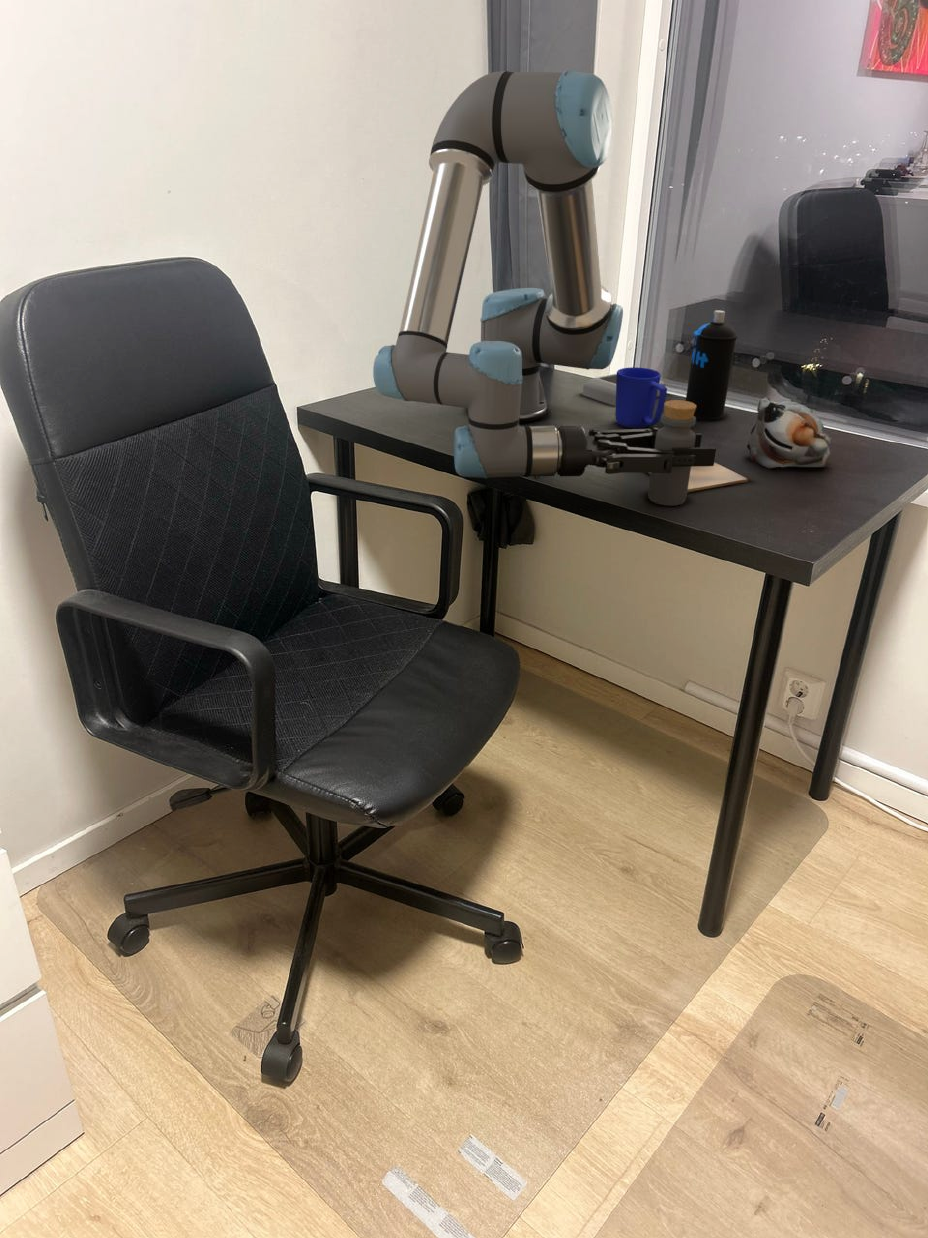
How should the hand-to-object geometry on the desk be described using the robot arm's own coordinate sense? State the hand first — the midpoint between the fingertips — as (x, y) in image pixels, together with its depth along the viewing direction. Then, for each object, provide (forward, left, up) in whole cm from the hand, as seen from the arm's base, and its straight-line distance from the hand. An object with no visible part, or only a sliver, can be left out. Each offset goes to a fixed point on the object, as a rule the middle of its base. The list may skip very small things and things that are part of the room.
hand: (706, 449), depth 134 cm
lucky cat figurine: (-7, +24, -8) cm, 27 cm away
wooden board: (-13, +6, -8) cm, 16 cm away
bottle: (-2, -5, -8) cm, 10 cm away
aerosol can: (-36, +29, -8) cm, 47 cm away
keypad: (-54, +22, -8) cm, 59 cm away
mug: (-34, +12, -8) cm, 37 cm away
